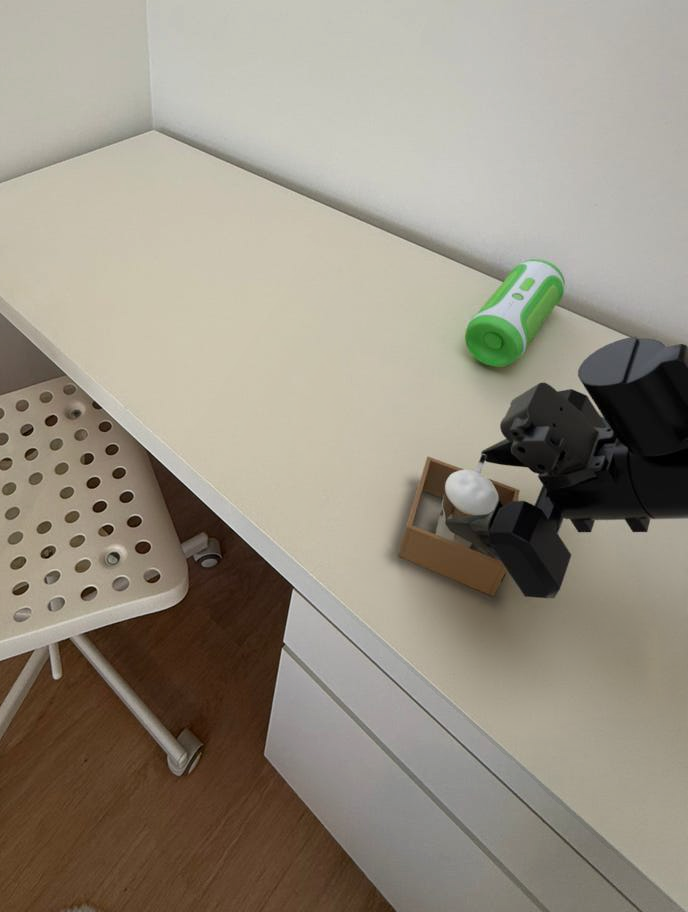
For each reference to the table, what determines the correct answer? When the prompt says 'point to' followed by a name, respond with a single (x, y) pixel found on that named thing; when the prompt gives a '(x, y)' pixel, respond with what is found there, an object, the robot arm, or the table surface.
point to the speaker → (515, 313)
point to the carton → (446, 553)
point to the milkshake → (466, 499)
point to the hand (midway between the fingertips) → (466, 489)
